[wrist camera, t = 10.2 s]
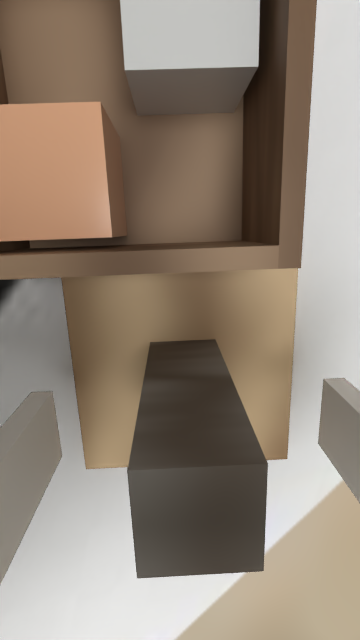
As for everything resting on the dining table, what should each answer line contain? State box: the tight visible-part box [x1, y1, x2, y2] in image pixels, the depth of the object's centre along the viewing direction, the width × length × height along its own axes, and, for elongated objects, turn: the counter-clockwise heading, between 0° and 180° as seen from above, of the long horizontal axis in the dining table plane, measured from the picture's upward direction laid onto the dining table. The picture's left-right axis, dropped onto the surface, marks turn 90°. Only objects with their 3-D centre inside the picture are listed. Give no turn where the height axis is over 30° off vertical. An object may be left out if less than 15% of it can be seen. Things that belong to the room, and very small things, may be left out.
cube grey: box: [120, 0, 260, 115], centre depth 11 cm, size 4×4×4 cm
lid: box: [61, 268, 298, 578], centre depth 13 cm, size 11×11×10 cm
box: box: [0, 0, 317, 280], centre depth 11 cm, size 11×11×6 cm
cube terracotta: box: [0, 102, 127, 241], centre depth 12 cm, size 4×4×4 cm
